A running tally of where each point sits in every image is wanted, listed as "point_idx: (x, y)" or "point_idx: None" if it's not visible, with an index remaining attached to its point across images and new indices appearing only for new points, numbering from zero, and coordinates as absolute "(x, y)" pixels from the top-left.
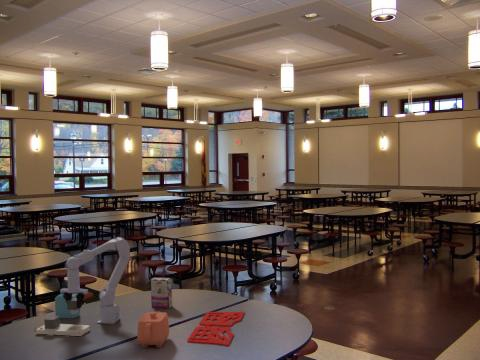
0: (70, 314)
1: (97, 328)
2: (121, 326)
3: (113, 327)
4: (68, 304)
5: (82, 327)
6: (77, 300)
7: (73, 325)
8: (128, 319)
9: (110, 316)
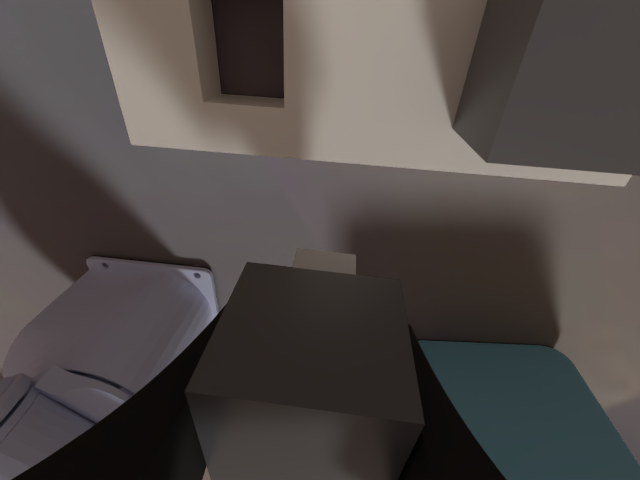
0: (452, 362)
1: (132, 176)
2: (4, 220)
3: (37, 201)
4: (384, 344)
5: (164, 82)
6: (164, 413)
7: (296, 134)
8: None
9: (84, 299)
